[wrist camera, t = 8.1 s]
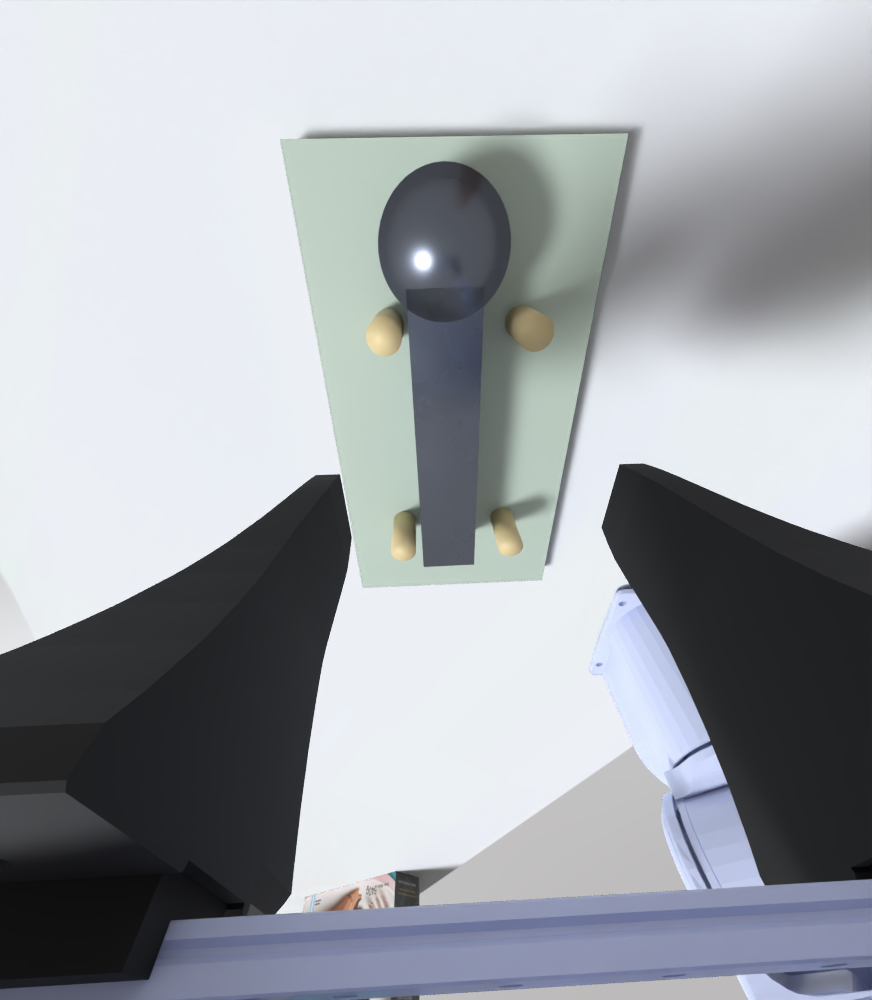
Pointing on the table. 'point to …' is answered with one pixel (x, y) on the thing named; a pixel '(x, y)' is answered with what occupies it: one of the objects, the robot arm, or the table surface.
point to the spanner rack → (506, 336)
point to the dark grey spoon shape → (445, 334)
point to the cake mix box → (369, 899)
